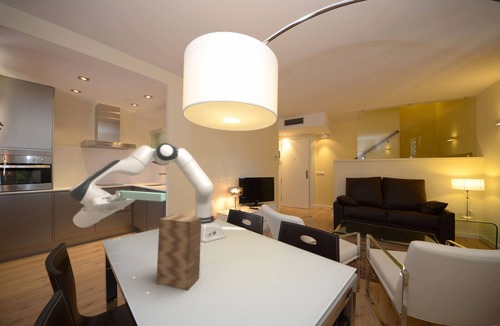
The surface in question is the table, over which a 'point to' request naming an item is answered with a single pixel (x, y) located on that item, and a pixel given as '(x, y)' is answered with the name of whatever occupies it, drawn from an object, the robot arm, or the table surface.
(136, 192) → the mint green bar
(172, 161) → the robot arm
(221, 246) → the table surface
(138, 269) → the table surface
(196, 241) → the walnut stand
